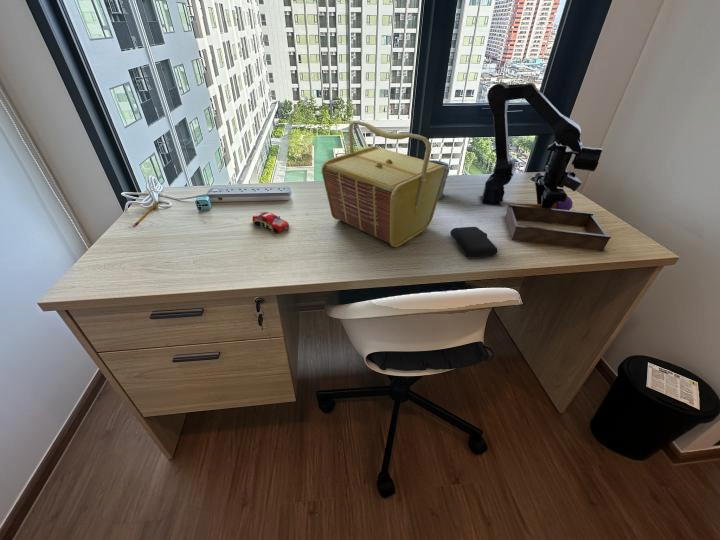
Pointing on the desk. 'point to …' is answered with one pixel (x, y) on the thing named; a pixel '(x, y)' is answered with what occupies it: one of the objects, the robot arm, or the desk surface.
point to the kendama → (557, 205)
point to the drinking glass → (446, 173)
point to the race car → (270, 222)
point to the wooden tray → (590, 240)
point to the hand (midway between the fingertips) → (541, 209)
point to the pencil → (145, 214)
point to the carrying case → (473, 242)
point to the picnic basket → (383, 188)
